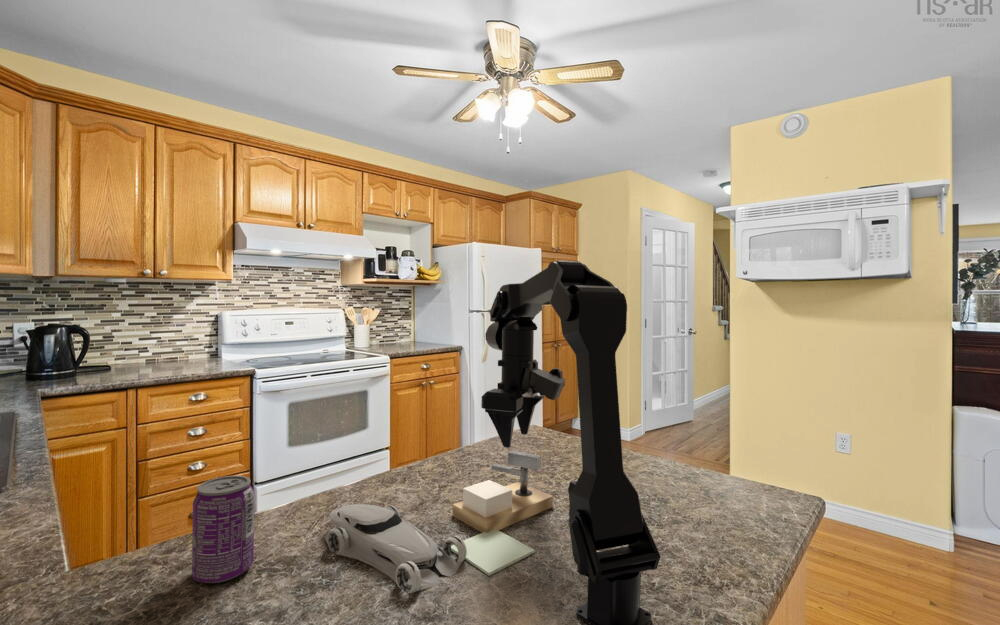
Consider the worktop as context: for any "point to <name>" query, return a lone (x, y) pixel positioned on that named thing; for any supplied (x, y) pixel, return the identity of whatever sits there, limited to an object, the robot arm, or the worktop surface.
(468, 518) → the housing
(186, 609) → the worktop surface
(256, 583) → the worktop surface
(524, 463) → the lever handle
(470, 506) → the cover
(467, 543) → the pad
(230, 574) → the beverage can
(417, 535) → the car model
